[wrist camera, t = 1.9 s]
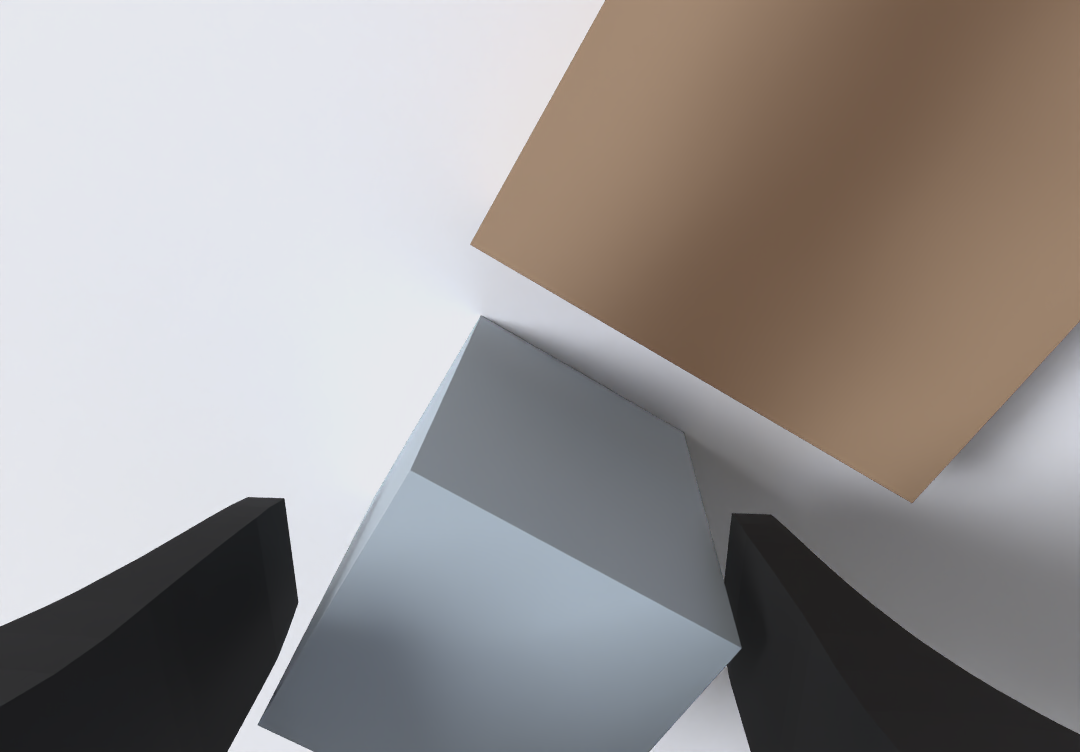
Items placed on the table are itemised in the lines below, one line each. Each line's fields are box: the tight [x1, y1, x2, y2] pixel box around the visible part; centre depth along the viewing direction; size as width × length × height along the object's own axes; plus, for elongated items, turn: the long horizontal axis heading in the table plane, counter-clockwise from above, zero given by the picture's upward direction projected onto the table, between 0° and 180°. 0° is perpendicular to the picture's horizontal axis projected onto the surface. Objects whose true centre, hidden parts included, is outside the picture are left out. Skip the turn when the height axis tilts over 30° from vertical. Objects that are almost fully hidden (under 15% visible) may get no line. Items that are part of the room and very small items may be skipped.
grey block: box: [258, 316, 742, 752], centre depth 12 cm, size 4×4×6 cm
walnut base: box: [470, 0, 1080, 503], centre depth 11 cm, size 8×8×3 cm
